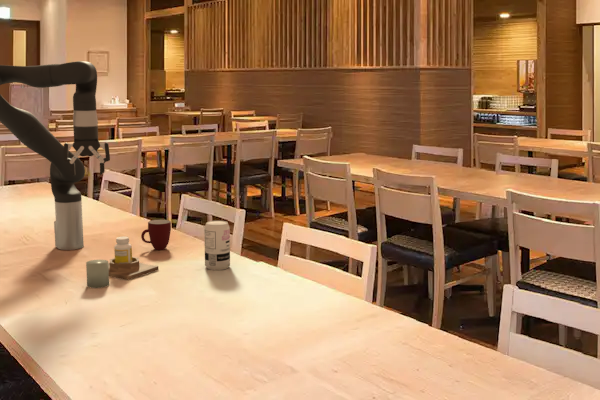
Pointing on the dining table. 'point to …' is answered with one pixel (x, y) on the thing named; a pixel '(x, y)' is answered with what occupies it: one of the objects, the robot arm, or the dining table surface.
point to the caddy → (129, 269)
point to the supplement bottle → (123, 250)
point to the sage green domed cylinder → (97, 273)
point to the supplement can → (217, 245)
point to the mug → (158, 233)
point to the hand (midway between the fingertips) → (87, 174)
